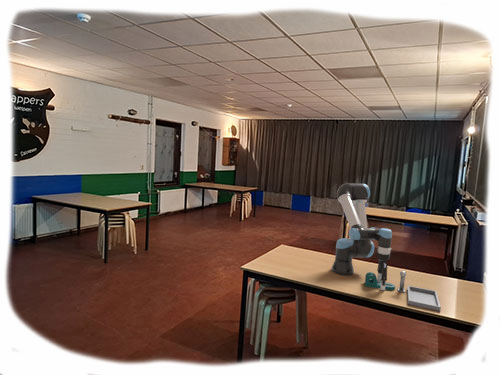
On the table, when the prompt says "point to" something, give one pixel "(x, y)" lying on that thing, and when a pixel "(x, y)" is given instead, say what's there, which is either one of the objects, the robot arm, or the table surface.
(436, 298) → the bin
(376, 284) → the bracket
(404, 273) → the ball stud
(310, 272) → the table surface
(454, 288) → the table surface
